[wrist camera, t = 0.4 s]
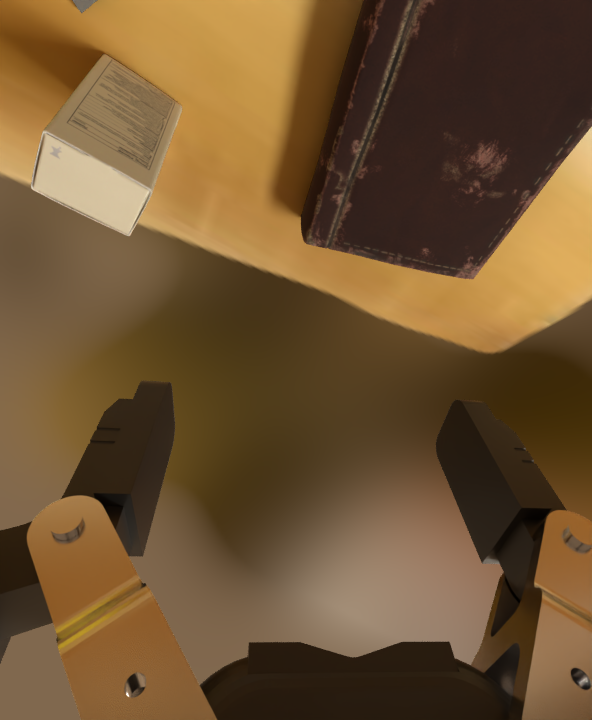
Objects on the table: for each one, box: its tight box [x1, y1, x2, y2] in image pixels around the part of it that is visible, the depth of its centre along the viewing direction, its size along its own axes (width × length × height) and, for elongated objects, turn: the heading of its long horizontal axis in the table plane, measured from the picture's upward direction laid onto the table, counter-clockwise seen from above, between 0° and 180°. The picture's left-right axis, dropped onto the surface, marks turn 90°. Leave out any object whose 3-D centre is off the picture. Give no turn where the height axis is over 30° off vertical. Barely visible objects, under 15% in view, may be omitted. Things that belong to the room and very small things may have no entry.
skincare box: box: [31, 54, 182, 236], centre depth 28 cm, size 6×4×12 cm
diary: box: [301, 0, 592, 279], centre depth 31 cm, size 19×25×5 cm
